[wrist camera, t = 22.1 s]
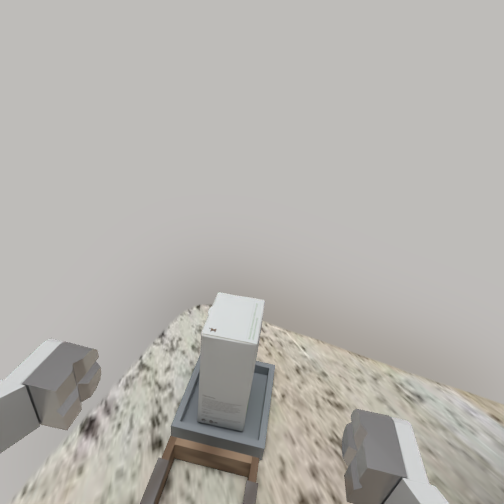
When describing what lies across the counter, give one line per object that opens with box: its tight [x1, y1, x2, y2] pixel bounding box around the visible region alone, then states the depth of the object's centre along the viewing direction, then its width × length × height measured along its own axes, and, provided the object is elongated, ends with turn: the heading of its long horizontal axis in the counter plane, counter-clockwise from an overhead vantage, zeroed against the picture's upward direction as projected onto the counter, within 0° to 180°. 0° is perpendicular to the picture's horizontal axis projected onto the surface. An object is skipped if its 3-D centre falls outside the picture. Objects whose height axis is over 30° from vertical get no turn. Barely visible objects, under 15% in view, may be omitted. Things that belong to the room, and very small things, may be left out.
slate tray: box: [171, 356, 275, 460], centre depth 43 cm, size 12×13×2 cm
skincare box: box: [197, 292, 265, 431], centre depth 40 cm, size 8×7×16 cm
